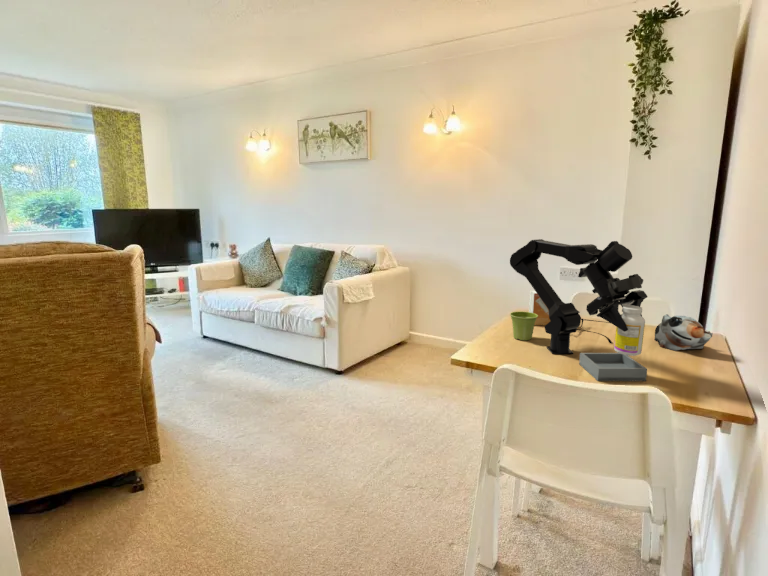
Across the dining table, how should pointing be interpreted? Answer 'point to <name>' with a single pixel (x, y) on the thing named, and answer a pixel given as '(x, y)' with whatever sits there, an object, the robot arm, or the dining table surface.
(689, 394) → the dining table surface
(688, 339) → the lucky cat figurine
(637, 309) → the supplement bottle
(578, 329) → the eyeglasses
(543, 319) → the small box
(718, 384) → the dining table surface
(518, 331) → the plant pot
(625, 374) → the tray
